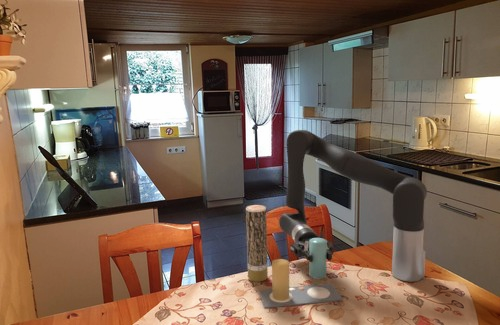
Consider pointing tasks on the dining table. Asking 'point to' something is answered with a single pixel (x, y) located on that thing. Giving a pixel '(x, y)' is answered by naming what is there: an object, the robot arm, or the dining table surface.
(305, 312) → the dining table surface
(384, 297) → the dining table surface
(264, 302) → the card
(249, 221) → the wooden log
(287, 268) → the amber tube
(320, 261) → the teal tube
